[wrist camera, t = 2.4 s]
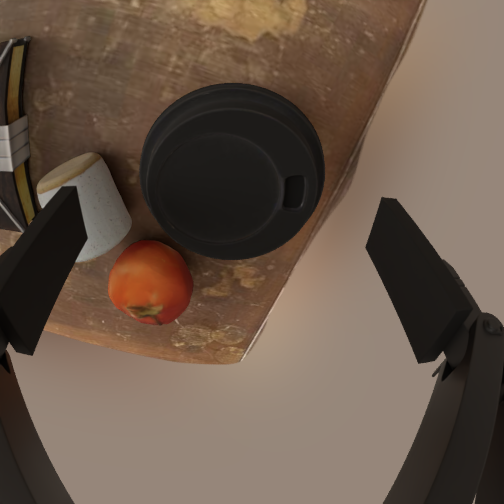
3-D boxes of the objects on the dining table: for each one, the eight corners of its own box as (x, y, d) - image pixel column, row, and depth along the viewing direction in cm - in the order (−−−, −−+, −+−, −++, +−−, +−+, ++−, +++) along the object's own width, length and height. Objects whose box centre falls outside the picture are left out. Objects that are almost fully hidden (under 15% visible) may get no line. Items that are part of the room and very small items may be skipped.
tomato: (125, 218, 32) (102, 268, 26) (206, 242, 34) (201, 296, 28) (115, 277, 37) (97, 328, 31) (184, 297, 40) (177, 350, 33)
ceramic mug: (110, 138, 26) (75, 173, 20) (141, 209, 31) (119, 257, 25) (34, 173, 28) (-5, 211, 22) (66, 232, 33) (38, 276, 27)
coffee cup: (304, 137, 28) (356, 230, 16) (212, 178, 30) (197, 293, 18) (259, 45, 22) (285, 52, 10) (160, 95, 24) (91, 159, 13)
